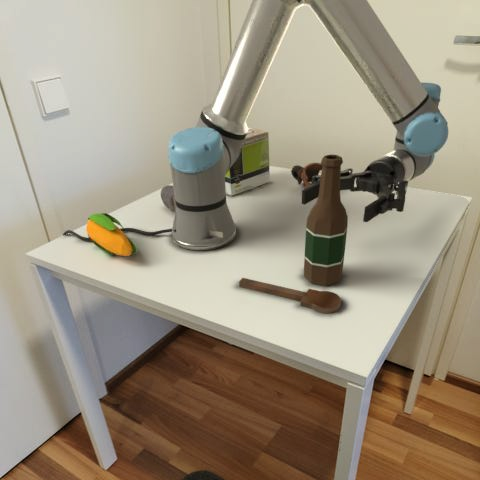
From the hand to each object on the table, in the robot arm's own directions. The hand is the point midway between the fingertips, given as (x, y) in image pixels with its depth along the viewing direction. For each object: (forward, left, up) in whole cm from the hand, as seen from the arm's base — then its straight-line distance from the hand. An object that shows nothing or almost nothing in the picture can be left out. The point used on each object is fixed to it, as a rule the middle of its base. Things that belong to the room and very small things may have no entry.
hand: (333, 205), depth 84 cm
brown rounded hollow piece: (-19, +43, -15) cm, 50 cm away
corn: (-48, -9, -15) cm, 51 cm away
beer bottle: (0, -2, -15) cm, 15 cm away
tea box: (-39, +38, -15) cm, 57 cm away
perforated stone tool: (-46, +15, -15) cm, 51 cm away
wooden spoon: (-3, -11, -15) cm, 18 cm away
